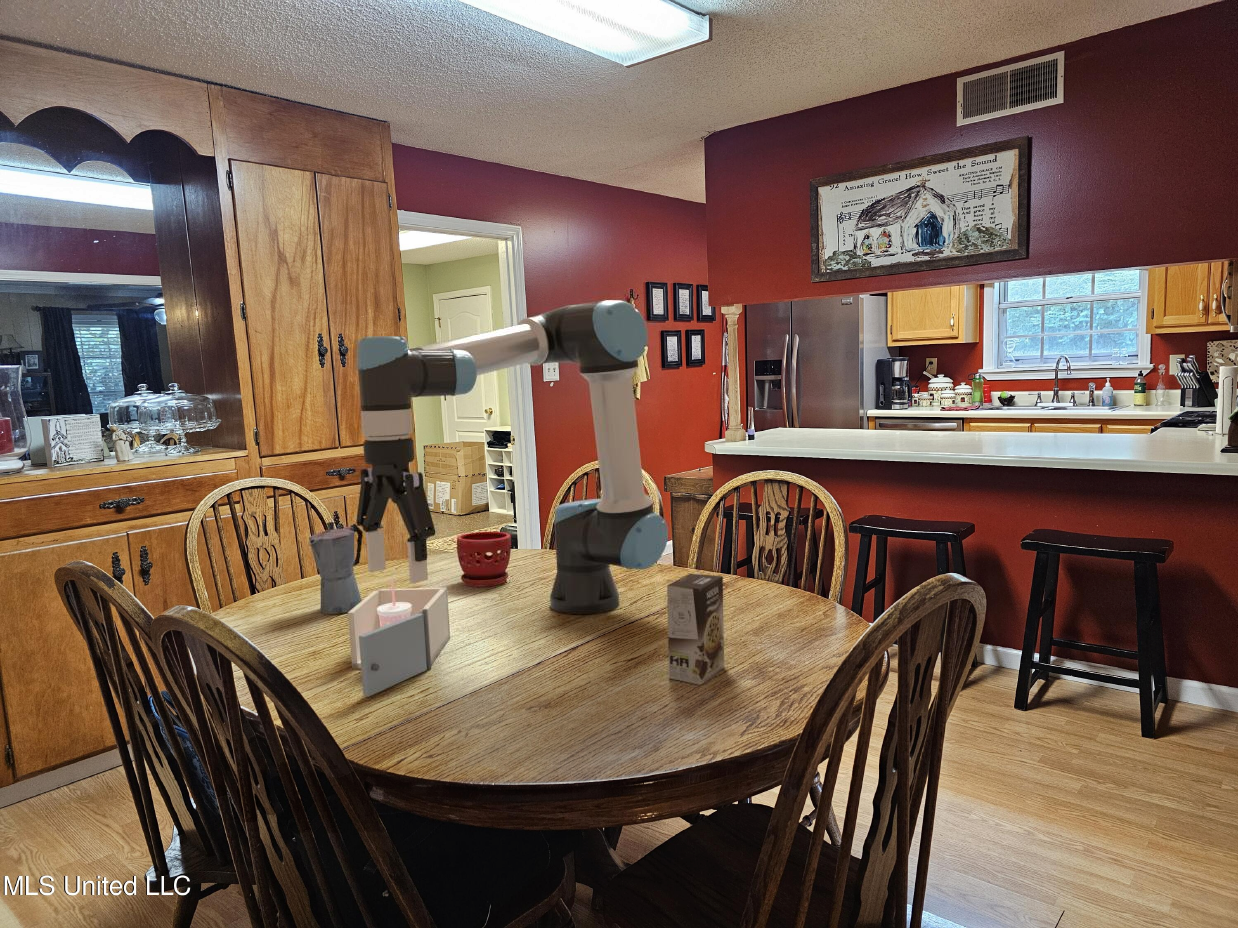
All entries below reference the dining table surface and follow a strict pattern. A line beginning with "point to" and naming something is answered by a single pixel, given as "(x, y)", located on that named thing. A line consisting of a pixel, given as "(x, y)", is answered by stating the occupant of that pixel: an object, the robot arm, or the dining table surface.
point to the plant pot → (484, 557)
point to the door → (392, 654)
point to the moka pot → (337, 567)
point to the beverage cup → (393, 610)
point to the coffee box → (695, 628)
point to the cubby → (422, 602)
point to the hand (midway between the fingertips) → (397, 575)
